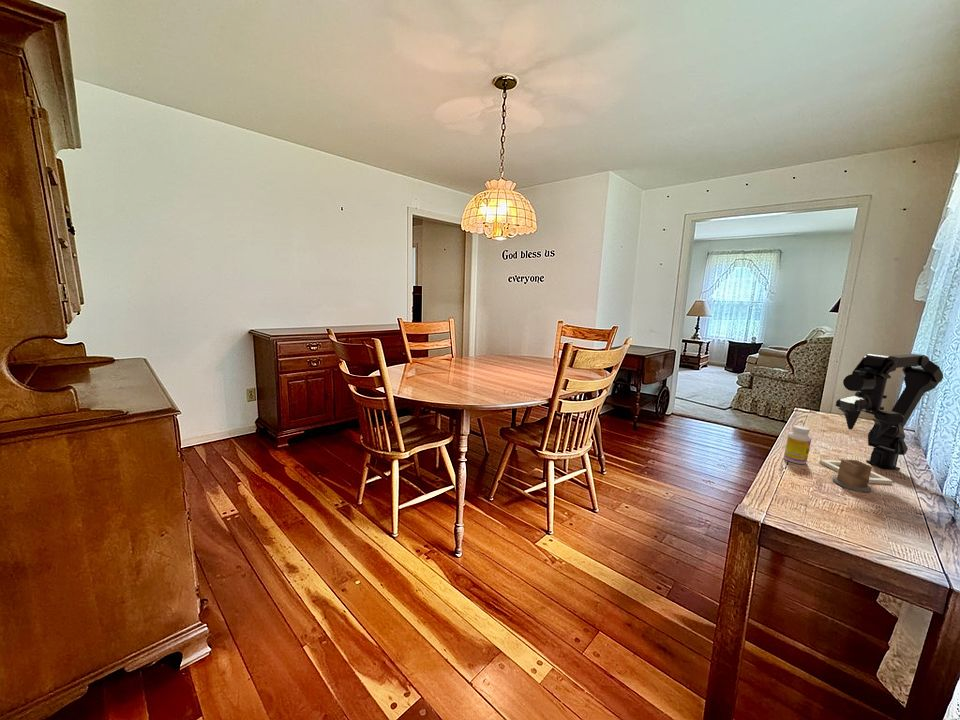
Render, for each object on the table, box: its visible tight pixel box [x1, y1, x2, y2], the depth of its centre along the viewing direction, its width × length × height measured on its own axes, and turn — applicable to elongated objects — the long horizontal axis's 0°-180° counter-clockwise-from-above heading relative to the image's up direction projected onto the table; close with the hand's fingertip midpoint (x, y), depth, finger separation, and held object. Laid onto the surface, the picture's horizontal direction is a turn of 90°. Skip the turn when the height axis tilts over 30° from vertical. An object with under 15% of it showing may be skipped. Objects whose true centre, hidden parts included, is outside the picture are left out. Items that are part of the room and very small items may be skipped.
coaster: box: [832, 476, 872, 493], centre depth 124 cm, size 9×9×1 cm
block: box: [836, 458, 873, 488], centre depth 123 cm, size 5×5×7 cm
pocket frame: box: [819, 459, 893, 485], centre depth 133 cm, size 11×15×1 cm
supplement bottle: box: [783, 424, 812, 465], centre depth 140 cm, size 7×7×13 cm
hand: (862, 433), depth 135 cm, fingers open, 9 cm apart
